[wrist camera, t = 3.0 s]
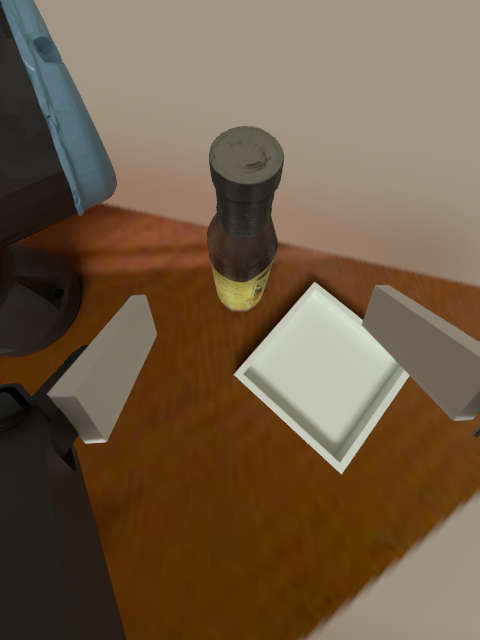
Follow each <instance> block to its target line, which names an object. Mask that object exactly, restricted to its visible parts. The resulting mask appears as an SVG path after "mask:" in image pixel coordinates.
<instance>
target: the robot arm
mask: <svg viewBox="0 0 480 640" xmlns="http://www.w3.org/2000/svg"><path fill="white" fill-rule="evenodd" d="M116 186H117V181H116V175H115V172H114V169H113V167H112V164H111V162H110V159H109V157H108V155H107V152H106V150H105V148H104V146H103V143H102V141H101V139H100V137H99V134H98V132H97V130H96V128H95V126H94V124H93V122H92V119H91V117H90V115H89V113H88V111H87V109H86V107H85V105H84V103H83V100H82V98H81V96H80V94H79V92H78V90H77V88H76V86H75V84H74V82H73V80H72V78H71V76H70V74H69V72H68V69H67V68H66V66H65V64H64V63H63V62H62V59H61V56H60V54H59V52H58V50H57V48H56V46H55V44H54V42H53V40H52V38H51V36H50V34H49V32H48V29H47V27H46V24H45V22H44V20H43V18H42V16H41V14H40V12H39V10H38V8H37V6H36V4H35V3H34V0H0V356H4V357H18V356H25V355H29V354H32V353H35V352H38V351H40V350H42V349H44V348H46V347H48V346H49V345H51V344H52V343H54V342H55V341H56V340H57V339H58V338H60V337H61V336H62V335H63V334H64V333H65V331H66V330H67V329H68V328H69V326H70V325H71V323H72V322H73V320H74V318H75V316H76V314H77V311H78V309H79V305H80V299H81V288H80V283H79V279H78V277H77V275H76V273H75V271H74V269H73V268H72V267H71V266H70V265H69V264H68V263H67V262H66V261H65V260H63V259H62V258H60V257H58V256H57V255H55V254H54V253H52V252H50V251H49V250H47V249H44V248H42V247H39V246H36V245H33V244H29V243H25V242H21V241H19V240H21V239H24V238H26V237H28V236H30V235H32V234H34V233H37V232H39V231H41V230H43V229H45V228H48V227H50V226H52V225H54V224H56V223H58V222H61V221H63V220H65V219H67V218H69V217H72V216H74V215H76V214H77V215H78V216H82V215H84V213H85V211H86V210H88V209H89V208H91V207H93V206H95V205H97V204H99V203H101V202H103V201H105V200H107V199H109V198H110V197H111V196H112V195H113V194H114V192H115V189H116ZM362 326H363V327H364V328H365V329H366V330H367V331H368V332H369V333H370V334H371V335H372V336H373V338H374V339H375V340H376V341H377V342H378V343H379V344H380V345H381V346H382V347H383V348H384V349H385V350H386V351H387V352H388V353H389V354H390V355H391V356H392V357H393V358H394V360H395V361H396V362H397V363H398V364H399V365H400V366H401V367H402V368H403V369H404V370H405V371H406V372H407V373H408V374H409V375H410V376H411V377H412V378H413V379H414V380H415V381H416V383H417V384H418V385H419V386H420V387H421V388H422V389H423V390H424V391H425V392H426V393H427V394H428V395H429V396H430V397H431V398H432V399H433V400H434V401H435V402H436V403H437V405H438V406H439V407H440V408H441V409H442V410H443V411H444V412H445V413H446V414H447V415H448V416H449V417H450V418H451V419H452V420H453V421H458V420H472V419H473V418H474V417H475V416H476V415H477V414H478V413H479V412H480V342H479V341H478V340H477V339H475V338H473V337H472V336H470V335H469V334H467V333H465V332H463V331H461V330H459V329H458V328H456V327H455V326H453V325H451V324H450V323H448V322H447V321H445V320H443V319H442V318H440V317H439V316H437V315H435V314H434V313H432V312H431V311H429V310H427V309H426V308H424V307H423V306H421V305H419V304H418V303H416V302H415V301H413V300H411V299H410V298H408V297H407V296H405V295H403V294H402V293H400V292H399V291H397V290H395V289H394V288H392V287H391V286H389V285H375V287H374V290H373V293H372V296H371V299H370V302H369V305H368V308H367V311H366V313H365V316H364V319H363V322H362ZM156 336H157V332H156V329H155V325H154V322H153V318H152V315H151V311H150V308H149V304H148V301H147V297H146V295H132V296H131V297H130V298H129V299H128V301H127V302H126V303H125V304H124V305H123V306H122V308H121V309H120V310H119V311H118V312H117V313H116V315H115V316H114V317H113V318H112V319H111V320H110V321H109V323H108V324H107V325H106V326H105V327H104V328H103V330H102V331H101V332H100V333H99V334H98V335H97V337H96V338H95V339H94V340H93V341H92V342H91V344H90V345H84V346H82V347H81V348H79V349H78V350H76V351H75V352H73V353H72V354H71V355H70V356H69V357H68V358H67V359H66V360H65V361H64V364H62V365H61V366H60V367H59V368H58V369H57V372H54V373H53V375H52V376H51V377H50V378H49V379H48V380H47V381H46V382H45V383H44V384H43V385H42V386H41V388H40V389H39V390H38V391H37V392H36V393H35V394H34V395H33V396H32V397H31V396H30V394H29V393H28V392H27V391H26V390H25V389H24V387H23V386H22V385H21V384H16V383H11V384H4V385H1V386H0V640H126V637H125V633H124V629H123V625H122V622H121V618H120V614H119V610H118V606H117V603H116V599H115V595H114V591H113V588H112V584H111V580H110V576H109V572H108V569H107V565H106V561H105V557H104V554H103V550H102V546H101V542H100V538H99V535H98V531H97V527H96V523H95V520H94V516H93V512H92V508H91V504H90V501H89V497H88V493H87V489H86V486H85V482H84V478H83V474H82V470H81V467H80V463H79V459H78V455H77V452H76V449H75V448H74V446H73V443H74V441H75V440H76V438H77V436H78V435H79V436H80V437H81V438H82V440H83V441H84V442H85V443H100V442H107V440H108V438H109V436H110V434H111V432H112V430H113V428H114V426H115V423H116V421H117V419H118V417H119V415H120V413H121V411H122V408H123V406H124V404H125V402H126V400H127V398H128V396H129V394H130V391H131V389H132V387H133V385H134V383H135V381H136V379H137V377H138V374H139V372H140V370H141V368H142V366H143V364H144V362H145V359H146V357H147V355H148V353H149V351H150V349H151V347H152V345H153V342H154V340H155V338H156ZM479 435H480V426H479V427H478V428H477V429H476V430H475V431H474V434H473V436H475V437H478V436H479Z"/></svg>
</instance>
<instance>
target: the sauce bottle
mask: <svg viewBox="0 0 480 640" xmlns="http://www.w3.org/2000/svg"><path fill="white" fill-rule="evenodd" d="M283 162H284V154H283V150H282V147H281V146H280V144H279V143H278V142H277V140H276V139H275V138H274V137H273V136H271V135H270V134H269V133H267V132H265V131H264V130H262V129H260V128H255V127H252V126H251V127H246V126H244V127H236V128H232V129H229V130H228V131H226V132H223V133H222V134H220V135H219V136H218V137H217V138H216V139H215V140H214V142H213V143H212V145H211V148H210V154H209V164H210V170H211V177H212V181H213V184H214V186H215V188H216V196H217V207H216V208H217V213H216V214H215V216H214V217H213V219H212V221H211V223H210V225H209V227H208V232H207V237H208V239H207V243H208V246H209V247H208V248H209V251H210V252H209V256H210V262H211V266H212V271H213V275H214V280H215V285H216V289H217V293H218V296H219V298H220V300H221V302H222V303H223V305H224V306H225V307H226V308H228V309H230V310H232V311H234V312H246V311H248V310H250V309H252V308H254V307H255V306H256V304H257V303H258V302H259V301H260V299H261V297H262V294H263V291H264V289H265V286H266V283H267V280H268V277H269V274H270V271H271V268H272V264H273V261H274V258H275V255H276V252H277V247H278V242H277V237H276V233H275V229H274V226H273V222H272V218H271V211H272V207H271V206H272V201H273V199H274V192H275V190H276V189H277V188H278V185H279V183H280V180H281V174H282V167H283Z"/></svg>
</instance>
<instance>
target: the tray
mask: <svg viewBox="0 0 480 640" xmlns="http://www.w3.org/2000/svg"><path fill="white" fill-rule="evenodd" d="M362 322H363V320H362V319H361V318H359V317H358V316H357V315H356V314H354V313H353V312H352V311H351V310H349V309H348V308H347V307H346V306H344V305H343V304H342V303H341V302H339V301H338V300H337V299H336V298H334V297H333V296H332V295H331V294H329V293H328V292H327V291H326V290H324V289H323V288H322V287H321V286H319V285H318V284H317V283H316V282H314V283H313V284H312V285H311V286H310V287H309V288H308V290H307V291H306V292H305V293H304V294H303V295H302V296H301V298H300V299H299V300H298V301H297V302H296V303H295V305H294V306H293V307H292V308H291V309H290V310H289V311H288V313H287V314H286V315H285V316H284V317H283V318H282V319H281V321H280V322H279V323H278V324H277V325H276V326H275V327H274V329H273V330H272V331H271V332H270V333H269V334H268V335H267V337H266V338H265V339H264V340H263V341H262V342H261V343H260V345H259V346H258V347H257V348H256V349H255V350H254V351H253V353H252V354H251V355H250V356H249V357H248V358H247V360H246V361H245V362H244V363H243V364H242V365H241V366H240V368H239V369H238V370H237V371H236V372H235V373H234V375H235V376H236V377H237V378H238V379H239V380H240V381H241V382H242V383H243V384H245V385H246V386H247V387H248V388H249V389H250V390H251V391H252V392H253V393H254V394H255V395H256V396H258V397H259V398H260V399H261V400H262V401H263V402H264V403H265V404H266V405H267V406H268V407H269V408H270V409H272V410H273V411H274V412H275V413H276V414H277V415H278V416H279V417H280V418H281V419H282V420H283V421H284V422H286V423H287V424H288V425H289V426H290V427H291V428H292V429H293V430H294V431H295V432H296V433H297V434H299V435H300V436H301V437H302V438H303V439H304V440H305V441H306V442H307V443H308V444H309V445H310V446H311V447H313V448H314V449H315V450H316V451H317V452H318V453H319V454H320V455H321V456H322V457H323V458H324V459H325V460H327V461H328V462H329V463H330V464H331V465H332V466H333V467H334V468H335V469H336V470H337V471H338V472H340V473H341V474H342V473H343V471H344V470H345V469H346V467H347V466H348V464H349V463H350V461H351V460H352V458H353V457H354V455H355V454H356V453H357V451H358V450H359V448H360V447H361V445H362V444H363V442H364V441H365V439H366V438H367V437H368V435H369V434H370V432H371V431H372V429H373V428H374V426H375V425H376V423H377V422H378V421H379V419H380V418H381V416H382V415H383V413H384V412H385V410H386V409H387V407H388V406H389V405H390V403H391V402H392V400H393V399H394V397H395V396H396V394H397V393H398V391H399V390H400V389H401V387H402V386H403V384H404V383H405V381H406V380H407V378H408V377H409V374H408V373H407V372H406V371H405V370H404V369H403V368H402V367H401V366H400V365H399V364H398V363H397V362H396V361H395V360H394V358H393V357H392V356H391V355H390V354H389V353H388V352H387V351H386V350H385V349H384V348H383V347H382V346H381V345H380V344H379V343H378V342H377V341H376V340H375V339H374V338H373V336H372V335H371V334H370V333H369V332H368V331H367V330H366V329H365V328H364V327H363V326H362Z"/></svg>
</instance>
